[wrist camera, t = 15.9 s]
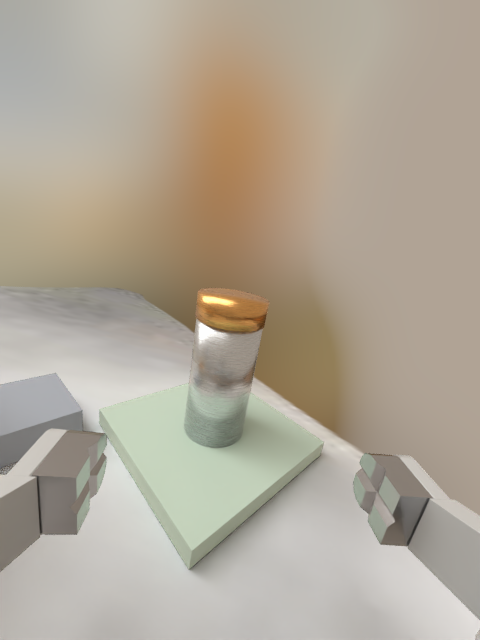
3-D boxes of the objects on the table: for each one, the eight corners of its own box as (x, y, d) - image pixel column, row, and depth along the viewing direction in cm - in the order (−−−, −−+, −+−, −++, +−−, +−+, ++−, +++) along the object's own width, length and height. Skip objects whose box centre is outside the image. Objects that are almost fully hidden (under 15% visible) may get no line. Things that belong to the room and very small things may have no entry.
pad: (188, 569, 12) (191, 551, 12) (99, 422, 20) (99, 409, 20) (320, 455, 21) (324, 442, 20) (220, 383, 29) (222, 373, 28)
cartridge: (210, 460, 17) (234, 307, 14) (169, 421, 20) (183, 288, 17) (256, 431, 20) (283, 303, 18) (215, 401, 23) (233, 287, 20)
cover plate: (-42, 489, 14) (-48, 451, 14) (-48, 428, 18) (-53, 395, 17) (82, 440, 19) (82, 410, 18) (56, 399, 22) (55, 372, 22)
